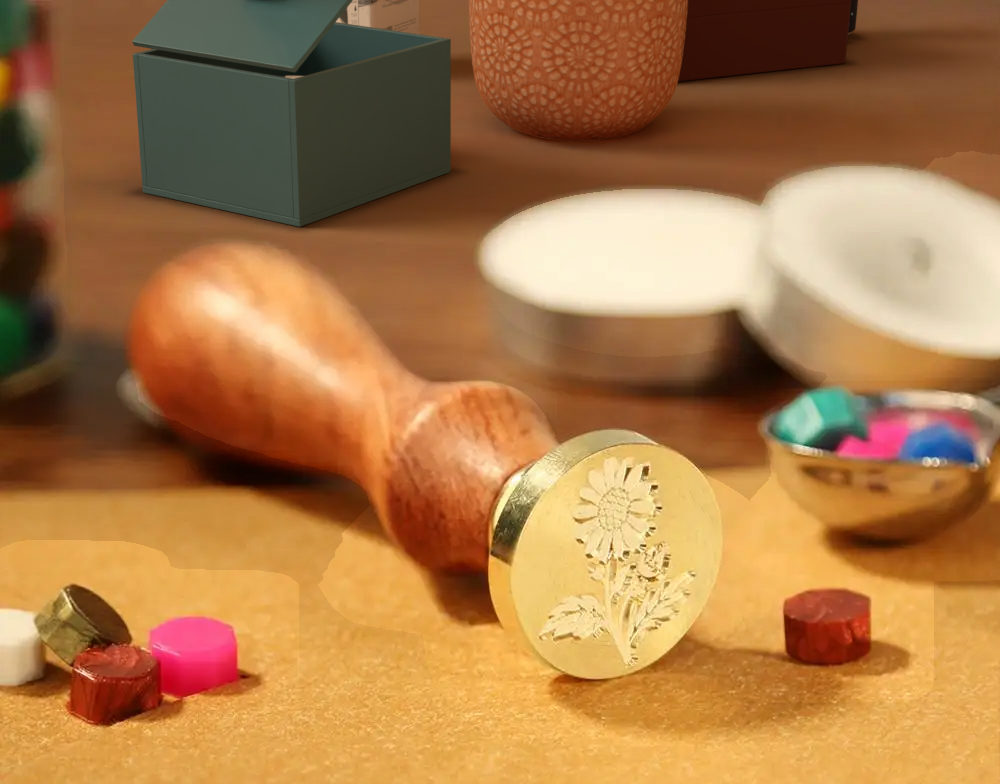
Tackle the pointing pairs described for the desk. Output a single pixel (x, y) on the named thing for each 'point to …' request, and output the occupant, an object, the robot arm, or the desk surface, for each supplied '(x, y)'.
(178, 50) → the flap
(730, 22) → the box
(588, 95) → the planter
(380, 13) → the ink box
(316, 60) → the carton
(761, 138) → the desk surface
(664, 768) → the desk surface
